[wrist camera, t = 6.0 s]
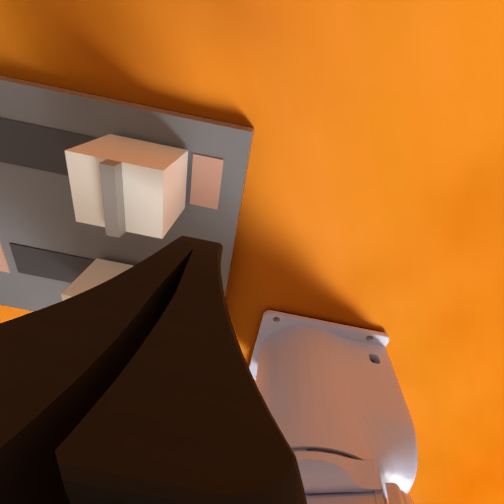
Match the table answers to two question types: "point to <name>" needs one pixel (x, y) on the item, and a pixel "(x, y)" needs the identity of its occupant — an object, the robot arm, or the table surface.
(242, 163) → the switch panel
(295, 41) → the table surface
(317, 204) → the table surface
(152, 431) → the robot arm
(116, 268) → the rear toggle
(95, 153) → the front toggle
